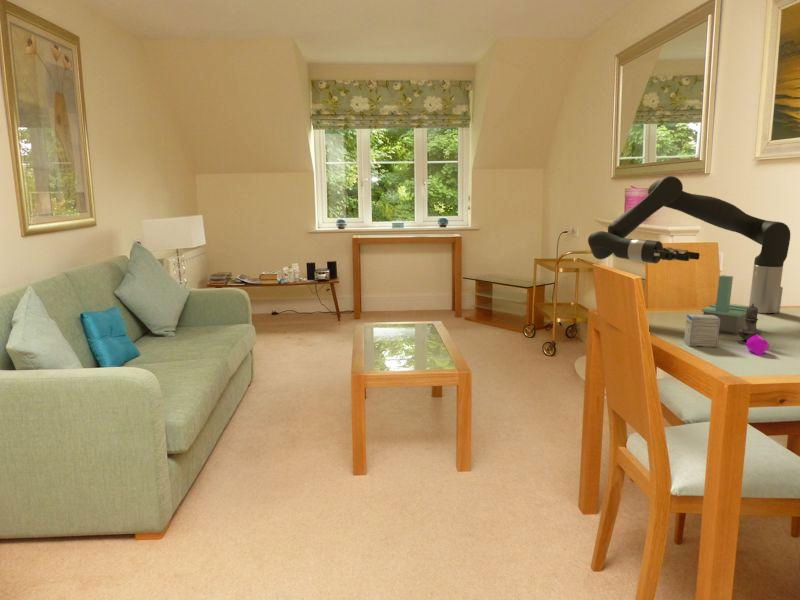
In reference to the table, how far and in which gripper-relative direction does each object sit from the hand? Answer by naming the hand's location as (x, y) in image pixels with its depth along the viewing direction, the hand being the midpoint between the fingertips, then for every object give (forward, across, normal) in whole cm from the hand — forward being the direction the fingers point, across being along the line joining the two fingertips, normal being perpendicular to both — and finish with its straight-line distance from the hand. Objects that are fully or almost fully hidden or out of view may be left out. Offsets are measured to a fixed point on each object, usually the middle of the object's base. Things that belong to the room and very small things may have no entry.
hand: (694, 257), depth 200 cm
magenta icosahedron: (+27, -18, +22) cm, 40 cm away
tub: (+11, +7, +22) cm, 26 cm away
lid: (+11, +7, +16) cm, 21 cm away
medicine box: (+13, -22, +23) cm, 35 cm away
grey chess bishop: (+22, -9, +22) cm, 33 cm away
